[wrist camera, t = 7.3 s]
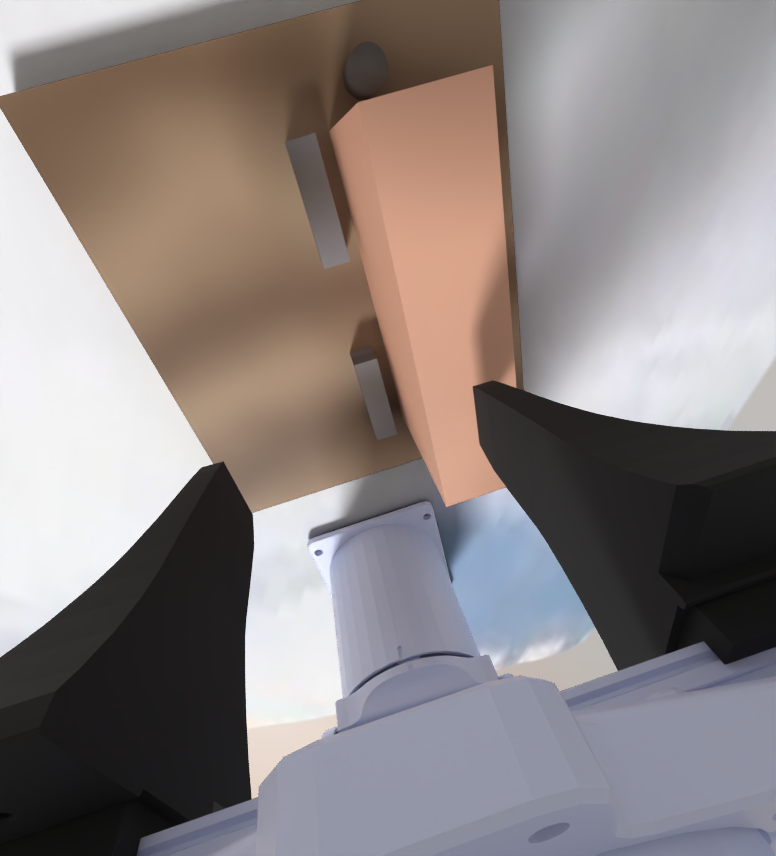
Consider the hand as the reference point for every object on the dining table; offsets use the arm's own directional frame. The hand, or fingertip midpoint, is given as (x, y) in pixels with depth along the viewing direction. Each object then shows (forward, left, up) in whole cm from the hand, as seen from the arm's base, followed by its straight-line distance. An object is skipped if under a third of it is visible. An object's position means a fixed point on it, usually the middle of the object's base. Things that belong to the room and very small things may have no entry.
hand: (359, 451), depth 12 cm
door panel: (+2, -4, -8) cm, 9 cm away
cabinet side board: (+2, -1, -9) cm, 9 cm away
